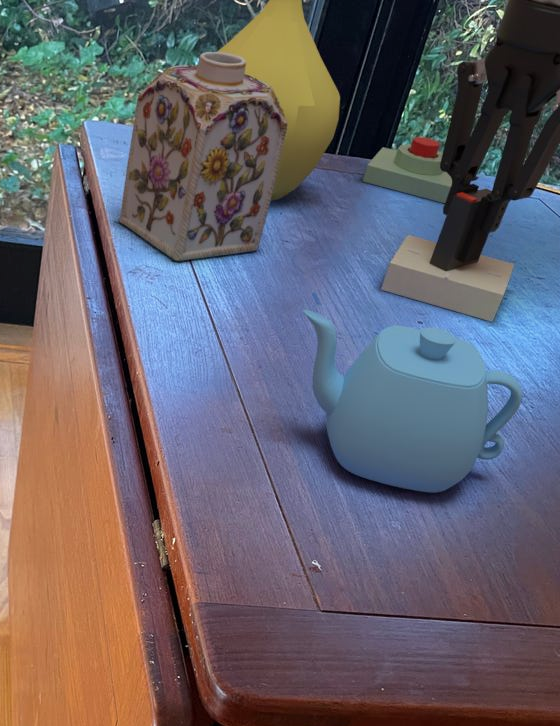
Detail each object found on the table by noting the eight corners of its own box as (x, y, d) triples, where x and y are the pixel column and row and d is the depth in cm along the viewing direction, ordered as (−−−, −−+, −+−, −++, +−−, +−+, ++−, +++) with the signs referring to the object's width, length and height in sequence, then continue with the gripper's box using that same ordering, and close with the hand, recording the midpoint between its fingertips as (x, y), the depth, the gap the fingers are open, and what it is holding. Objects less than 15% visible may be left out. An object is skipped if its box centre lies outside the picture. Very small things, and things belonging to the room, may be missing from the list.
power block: (461, 185, 138) (472, 154, 135) (450, 205, 131) (461, 173, 128) (377, 163, 141) (386, 133, 138) (362, 181, 134) (371, 150, 131)
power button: (437, 155, 134) (442, 141, 133) (433, 161, 131) (437, 147, 130) (411, 148, 135) (415, 134, 134) (406, 155, 132) (410, 141, 131)
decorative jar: (260, 253, 110) (305, 72, 98) (176, 264, 105) (212, 75, 93) (197, 212, 117) (231, 39, 105) (115, 221, 112) (141, 40, 100)
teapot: (311, 273, 80) (538, 322, 78) (277, 392, 87) (484, 440, 85) (297, 338, 70) (555, 396, 69) (261, 466, 78) (493, 521, 76)
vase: (320, 180, 132) (395, -96, 111) (310, 227, 118) (393, -78, 98) (186, 152, 133) (236, -125, 113) (160, 195, 120) (212, -110, 100)
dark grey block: (461, 254, 109) (487, 185, 104) (478, 262, 108) (505, 193, 103) (429, 263, 106) (454, 193, 101) (445, 271, 105) (472, 200, 100)
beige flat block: (503, 290, 111) (515, 262, 109) (492, 322, 104) (504, 293, 102) (398, 260, 114) (408, 232, 112) (380, 290, 107) (390, 261, 105)
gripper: (461, -22, 92) (379, 232, 108) (609, 21, 84) (497, 289, 100) (505, -23, 96) (420, 223, 112) (651, 18, 88) (537, 276, 104)
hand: (456, 254), depth 106 cm, fingers closed on dark grey block, 2 cm apart
